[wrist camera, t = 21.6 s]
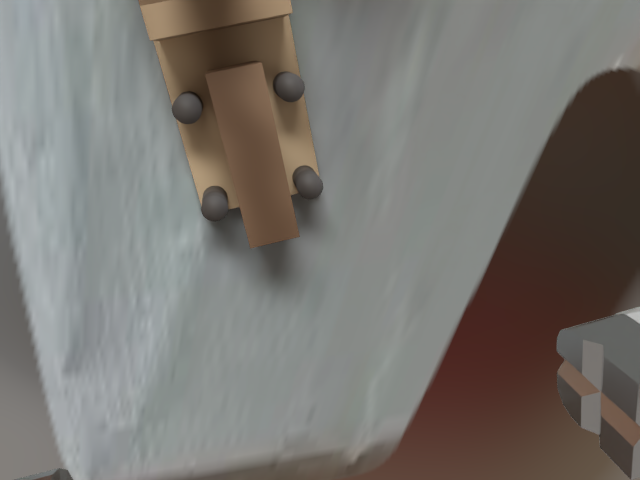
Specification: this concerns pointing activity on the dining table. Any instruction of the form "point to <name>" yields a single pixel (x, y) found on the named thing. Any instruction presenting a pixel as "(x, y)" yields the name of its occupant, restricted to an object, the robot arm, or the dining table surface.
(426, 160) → the dining table surface
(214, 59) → the board
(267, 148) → the bar
